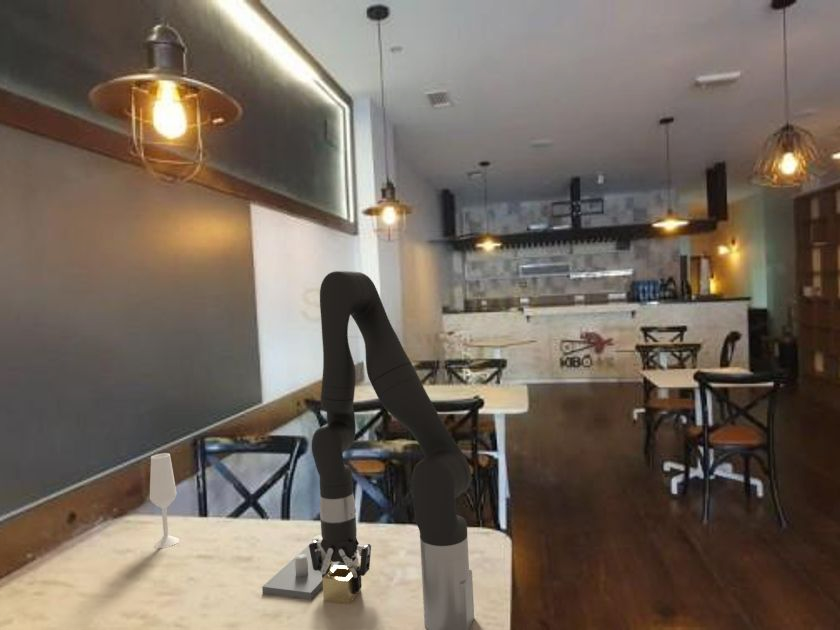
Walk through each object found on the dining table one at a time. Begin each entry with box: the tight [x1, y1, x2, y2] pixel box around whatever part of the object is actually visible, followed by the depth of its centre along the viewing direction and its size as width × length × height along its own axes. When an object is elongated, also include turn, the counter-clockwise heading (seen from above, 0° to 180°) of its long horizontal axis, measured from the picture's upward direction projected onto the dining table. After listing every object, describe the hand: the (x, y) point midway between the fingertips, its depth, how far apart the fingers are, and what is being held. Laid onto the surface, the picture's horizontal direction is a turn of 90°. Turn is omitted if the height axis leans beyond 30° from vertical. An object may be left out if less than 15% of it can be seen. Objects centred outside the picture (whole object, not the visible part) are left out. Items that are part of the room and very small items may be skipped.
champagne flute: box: [149, 452, 180, 549], centre depth 156 cm, size 7×7×24 cm
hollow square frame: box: [322, 565, 362, 605], centre depth 124 cm, size 6×6×5 cm
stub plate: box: [261, 534, 345, 600], centre depth 136 cm, size 12×24×6 cm, turn 162°
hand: (342, 590), depth 124 cm, fingers closed on hollow square frame, 6 cm apart
